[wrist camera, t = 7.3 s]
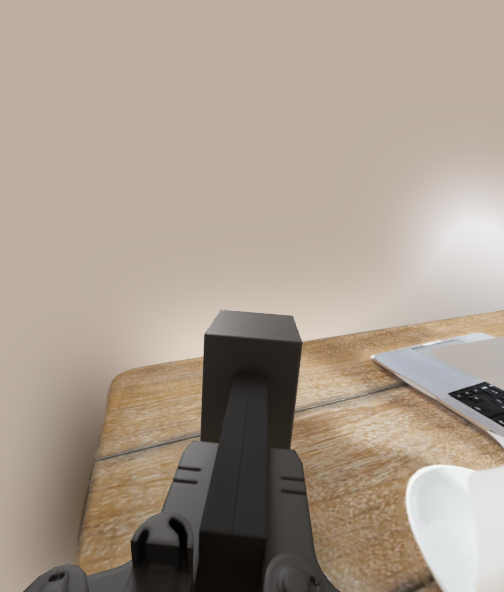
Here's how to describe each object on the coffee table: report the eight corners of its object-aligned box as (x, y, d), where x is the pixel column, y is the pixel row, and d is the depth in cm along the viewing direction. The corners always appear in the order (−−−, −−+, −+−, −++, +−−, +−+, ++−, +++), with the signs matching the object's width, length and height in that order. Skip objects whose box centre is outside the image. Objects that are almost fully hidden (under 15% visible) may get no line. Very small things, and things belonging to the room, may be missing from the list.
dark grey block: (196, 542, 15) (204, 333, 12) (212, 473, 19) (220, 309, 17) (278, 552, 15) (302, 342, 12) (275, 480, 19) (293, 315, 17)
